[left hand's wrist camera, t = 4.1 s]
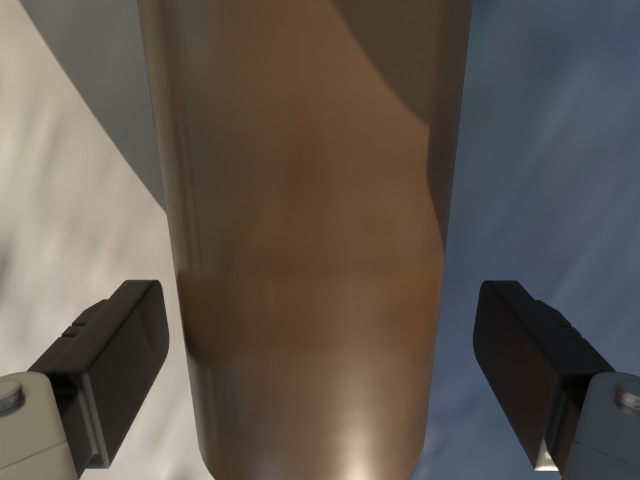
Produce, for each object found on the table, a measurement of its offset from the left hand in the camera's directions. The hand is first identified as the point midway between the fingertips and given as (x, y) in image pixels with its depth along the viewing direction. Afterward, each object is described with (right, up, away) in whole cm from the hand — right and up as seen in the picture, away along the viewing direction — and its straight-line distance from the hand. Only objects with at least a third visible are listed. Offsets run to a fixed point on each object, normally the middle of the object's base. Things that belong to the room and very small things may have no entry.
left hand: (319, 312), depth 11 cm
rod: (0, +10, -1) cm, 10 cm away
